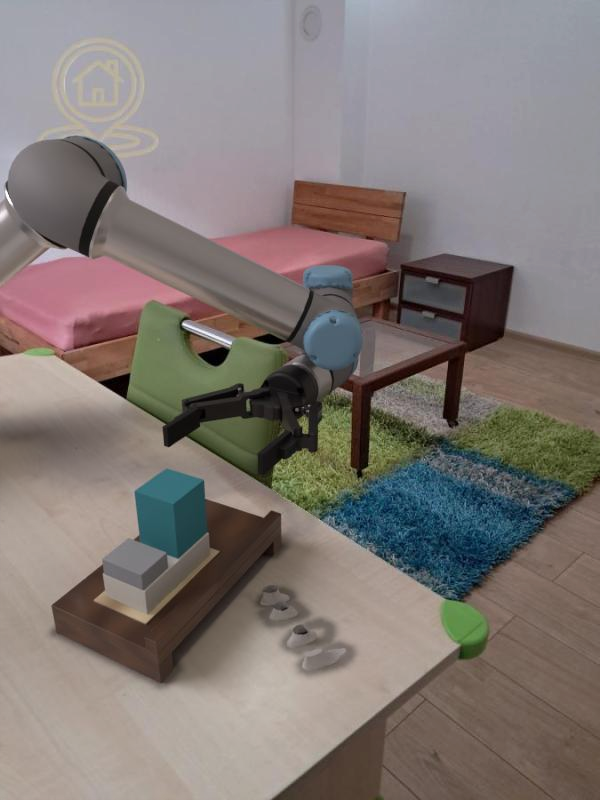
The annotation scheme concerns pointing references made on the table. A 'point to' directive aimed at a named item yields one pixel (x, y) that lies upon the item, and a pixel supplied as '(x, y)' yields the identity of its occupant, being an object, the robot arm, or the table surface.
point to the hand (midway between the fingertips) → (211, 450)
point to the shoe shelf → (181, 609)
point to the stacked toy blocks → (160, 542)
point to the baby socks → (298, 630)
